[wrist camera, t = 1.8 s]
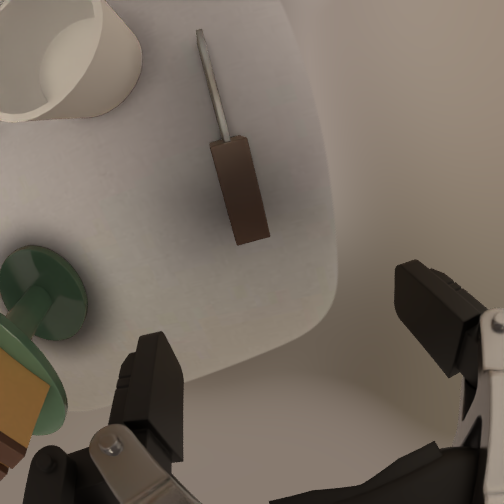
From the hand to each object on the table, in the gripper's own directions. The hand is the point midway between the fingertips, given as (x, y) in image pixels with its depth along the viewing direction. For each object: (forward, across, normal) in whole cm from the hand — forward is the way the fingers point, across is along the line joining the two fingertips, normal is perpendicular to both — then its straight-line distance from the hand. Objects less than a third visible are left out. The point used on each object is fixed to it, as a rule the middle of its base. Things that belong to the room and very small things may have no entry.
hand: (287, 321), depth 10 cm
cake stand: (+16, +20, +3) cm, 26 cm away
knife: (+16, 0, -5) cm, 17 cm away
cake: (+4, +20, +3) cm, 21 cm away
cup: (+16, +8, -16) cm, 24 cm away
